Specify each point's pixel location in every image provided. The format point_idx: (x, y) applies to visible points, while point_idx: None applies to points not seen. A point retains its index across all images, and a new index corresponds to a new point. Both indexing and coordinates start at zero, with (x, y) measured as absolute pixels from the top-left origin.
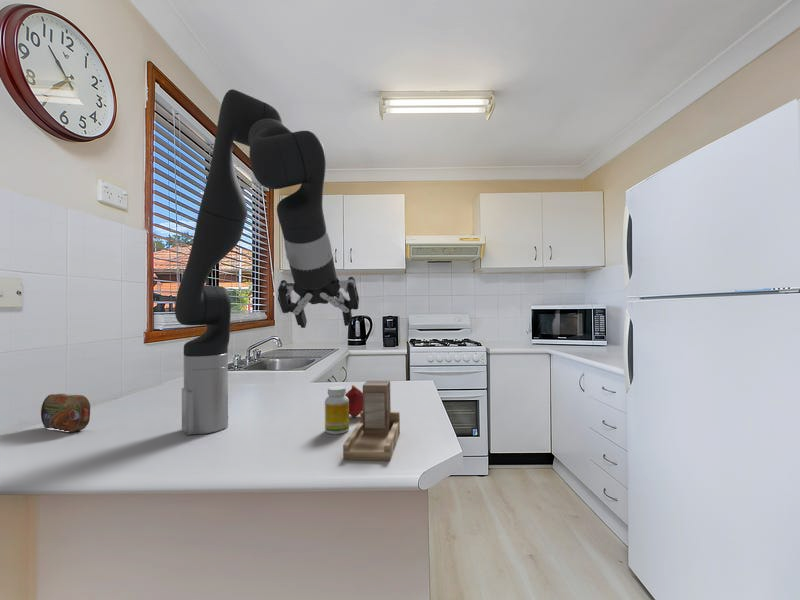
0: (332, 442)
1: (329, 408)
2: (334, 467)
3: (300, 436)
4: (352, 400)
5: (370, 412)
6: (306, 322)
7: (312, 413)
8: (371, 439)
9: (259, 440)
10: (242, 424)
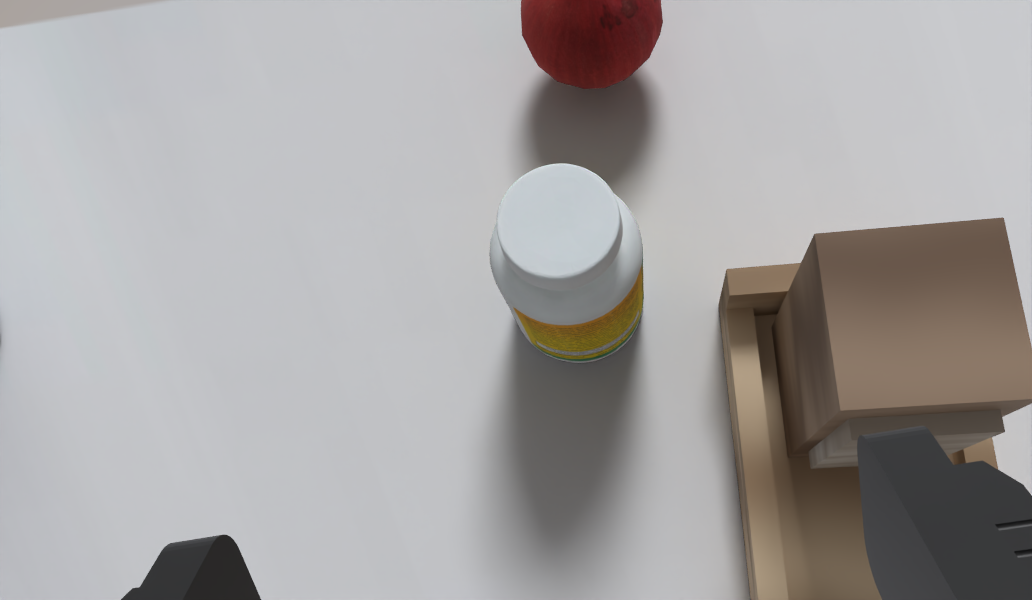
0: (618, 484)
1: (543, 327)
2: None
3: (418, 412)
4: (596, 58)
5: None
6: (236, 549)
7: (343, 37)
8: (862, 535)
9: (237, 495)
10: (55, 267)
